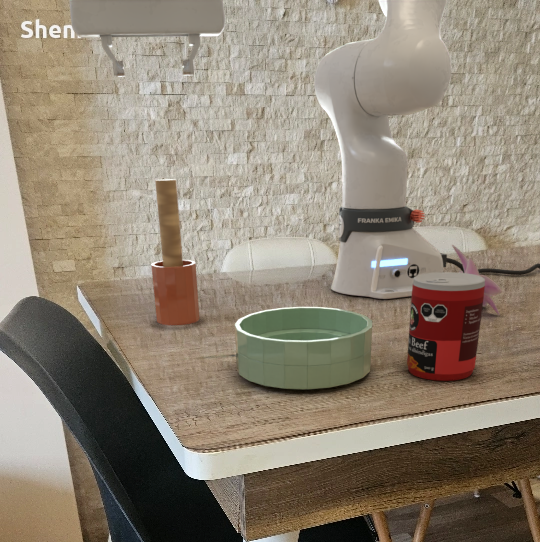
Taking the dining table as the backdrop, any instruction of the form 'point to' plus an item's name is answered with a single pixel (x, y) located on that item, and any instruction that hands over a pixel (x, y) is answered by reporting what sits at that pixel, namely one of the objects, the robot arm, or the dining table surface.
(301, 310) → the bowl
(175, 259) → the stick
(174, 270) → the holder
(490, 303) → the lily
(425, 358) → the canned food
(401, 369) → the dining table surface
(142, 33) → the robot arm
